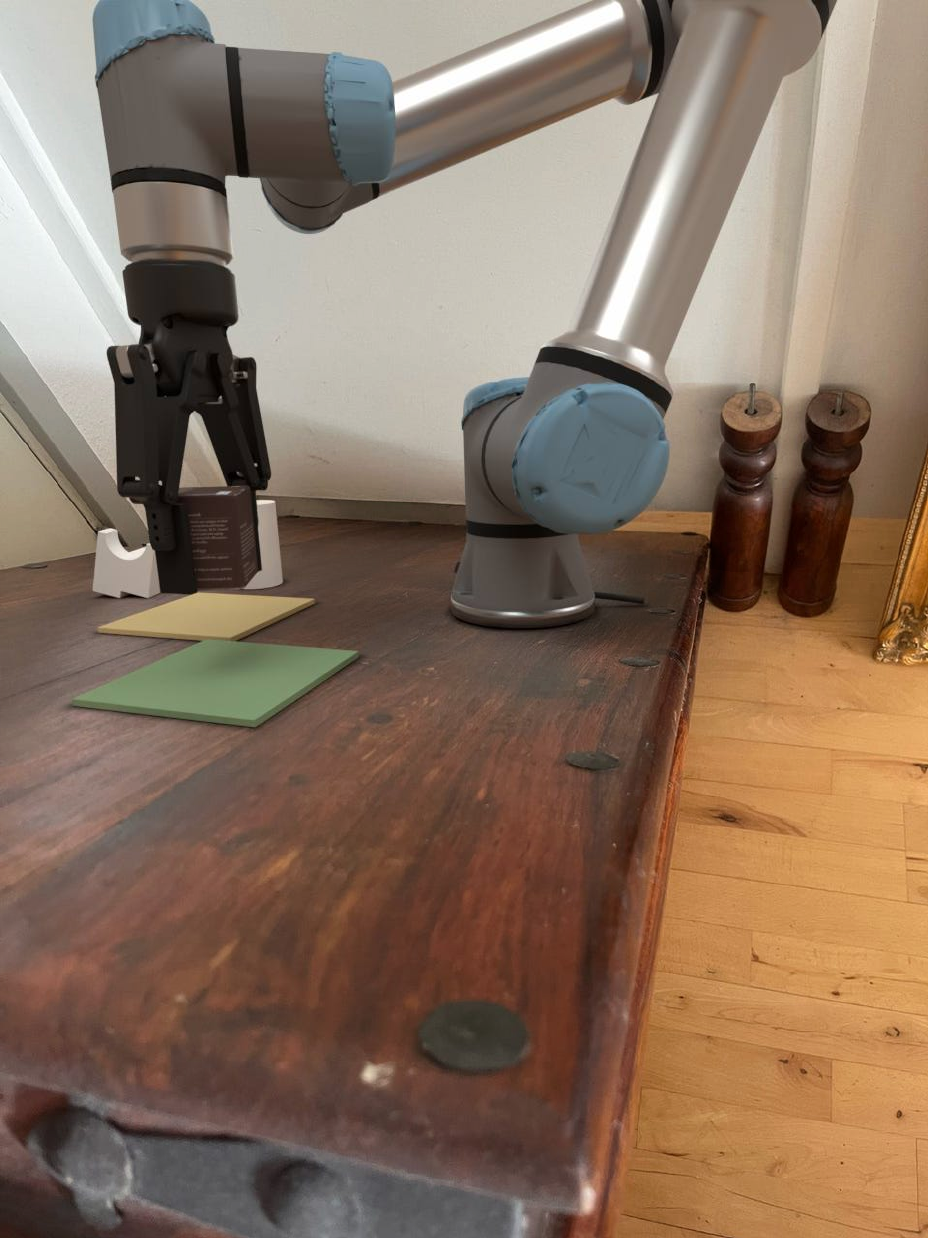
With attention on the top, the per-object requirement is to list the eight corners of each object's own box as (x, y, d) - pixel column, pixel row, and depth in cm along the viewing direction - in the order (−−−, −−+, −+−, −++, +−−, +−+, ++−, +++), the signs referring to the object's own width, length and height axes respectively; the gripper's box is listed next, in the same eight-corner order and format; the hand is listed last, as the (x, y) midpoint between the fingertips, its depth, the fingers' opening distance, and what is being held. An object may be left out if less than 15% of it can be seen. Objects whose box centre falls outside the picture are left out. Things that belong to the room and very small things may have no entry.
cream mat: (315, 603, 86) (314, 598, 85) (231, 643, 71) (230, 637, 71) (198, 597, 91) (198, 592, 90) (98, 632, 76) (97, 627, 76)
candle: (221, 586, 96) (207, 468, 92) (259, 577, 101) (247, 464, 97) (255, 591, 93) (242, 468, 89) (293, 581, 98) (282, 465, 94)
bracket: (147, 605, 91) (154, 545, 89) (92, 590, 91) (98, 531, 89) (195, 582, 104) (202, 529, 101) (147, 569, 104) (153, 517, 102)
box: (185, 577, 61) (175, 487, 60) (260, 574, 62) (251, 484, 60) (163, 593, 56) (150, 494, 54) (245, 590, 56) (235, 492, 54)
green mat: (359, 657, 66) (358, 650, 65) (255, 728, 51) (254, 720, 51) (206, 645, 71) (206, 639, 70) (72, 706, 56) (71, 698, 56)
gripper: (222, 291, 63) (249, 556, 69) (12, 239, 45) (73, 609, 50) (300, 284, 61) (321, 559, 67) (112, 226, 42) (164, 616, 48)
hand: (214, 580), depth 59 cm, fingers closed on box, 8 cm apart
